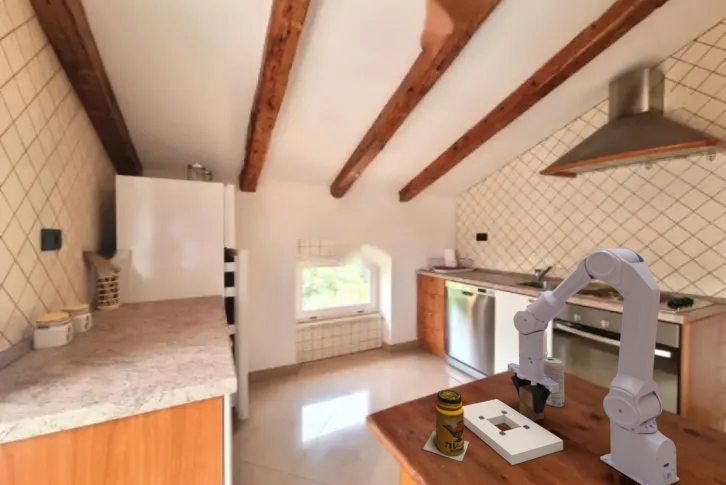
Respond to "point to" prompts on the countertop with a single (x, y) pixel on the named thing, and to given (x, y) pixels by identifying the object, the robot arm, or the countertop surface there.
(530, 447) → the hole board
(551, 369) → the energy drink
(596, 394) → the countertop surface
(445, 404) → the condiment
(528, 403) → the walnut peg
